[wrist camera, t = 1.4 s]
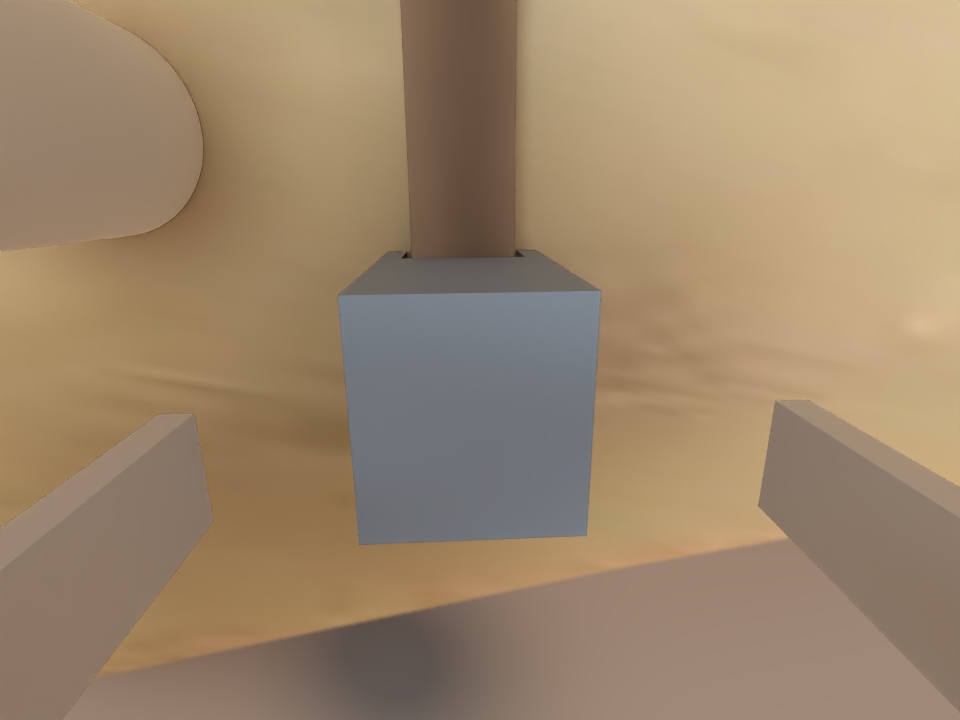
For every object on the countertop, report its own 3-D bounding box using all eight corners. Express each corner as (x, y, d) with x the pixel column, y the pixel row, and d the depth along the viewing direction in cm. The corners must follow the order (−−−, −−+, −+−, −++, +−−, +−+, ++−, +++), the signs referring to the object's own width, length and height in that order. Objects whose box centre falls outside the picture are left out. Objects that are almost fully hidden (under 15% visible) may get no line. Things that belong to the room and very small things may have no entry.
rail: (413, 426, 26) (405, 478, 21) (389, -89, 20) (369, -179, 15) (515, 423, 26) (529, 473, 22) (521, -87, 20) (543, -175, 15)
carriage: (396, 402, 25) (359, 544, 15) (388, 251, 23) (337, 295, 13) (531, 398, 25) (586, 535, 15) (534, 249, 23) (601, 290, 13)
